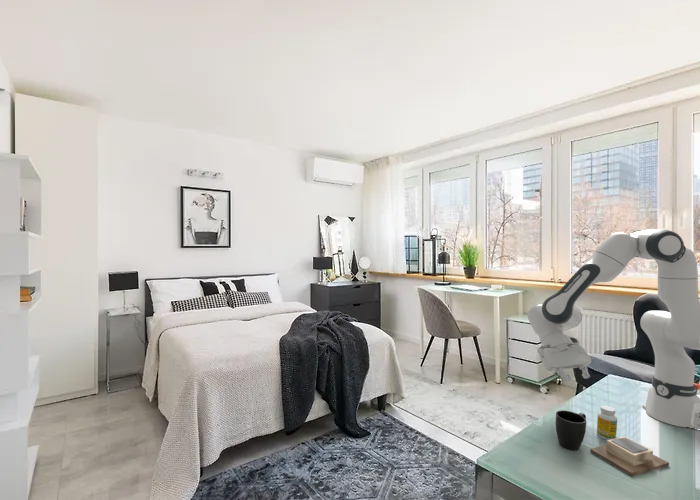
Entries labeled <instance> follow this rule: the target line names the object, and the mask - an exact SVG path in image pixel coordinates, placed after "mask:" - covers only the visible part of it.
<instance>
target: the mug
mask: <svg viewBox="0 0 700 500" xmlns="http://www.w3.org/2000/svg"><path fill="white" fill-rule="evenodd" d="M554 422H555V432H556V436H557V440H558V444H559V446H560V447H561V448H562V449H565V450H568V451H571V452H577V451H579V450H580V448H581V445H582V444H583V441H584V439H585V435H586V431H587V415H586V414H585V413H583V412H580V413H576V412H574V411H570V410H558V411H556V412H555V421H554Z"/></svg>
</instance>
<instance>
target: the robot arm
mask: <svg viewBox="0 0 700 500" xmlns="http://www.w3.org/2000/svg"><path fill="white" fill-rule="evenodd" d="M634 258H641V259H645V260H654V261H655V262H656V265H657V297H658V299H659V300H660V301H661V302H662V303H664V305H666V307H667V309H668V311H666V310H648V311H645V312H644V313H643V315H642V316H641V318H640V322H639V323H640V328H641V329H642V331H643V332H644V333H645V335H647V338H648V339H649V341H650V343H651V346H652V349H653V354H654V373H653V374H654V375H653V376H652V379H651V387H649V388H648V390H647V396H646V402H645V403H642V406H641V407H642V408H643V409H644V410H645V413H646V414H647V415H649V416H650V417H652V418H653V419H655V420H657V421H660V422H663V423H665V424H668V425H673V426H675V427H676V426H677V427H680V428H686V427H690V428H689V429H691V428H696V429H700V397H699V396H698V394H697V391H700V384H699V383H695V375H696V364H695V362H694V360H693V359H692V358H691V357H690V356H689V355H688V354H687V352H686V350H685V348H687V349H691V350H695V351H696V350H697V351H700V297H699V295H700V294H699V272H698V271H699V270H698V264H697V260H696V255H695V253H694V251H692V249H690V248H688V247H686V246H685V243H684V240H683V238H682V237H681V236H680V234H678V233H676V232H674V231H672V230H668V229H655V228H649V229H638V230H635V231H632V232H629V233H626V232H618V231H617V232H614V233H612V234H610V235H609V236H608V237H607V238H606V239H605V240H604V241H602V243H601V244H600V245H599V246H598V247H597V248H596V249H595V251H594V252H593V253H592V254H591V255H590V257H589V258H588V260H587V261H586V262H585V263H584V264H583V265H582V266H581V267H580V268H579V269H578V270H577V271H575V273H574V274H573V275H572V276H571V277H570V278H569V279H568V280H567V282H566V283H565V284H564V285H563V286H562V287H561V288H560V289H559V290H558V291H557V292H556V293H554V294H552V295H551V296H549V297H547V298H546V299H545V300H544V302H543V303H542V304H540V303H539V304H536V305H534V306H532V307H531V308H530V309H529V311H528V312H527V319H528V322H529V325H530V326H531V328H532V330H533V331H534V333H535V334H536V335H537V336H538V338H539V340H540V343H541V345H539V346H538V347H537V353H538V354H539V357H540V358H539V359H540V361H541V363H542V365H543V367H544V369H545V370H546V371H547V372H553V371H555V372H556V374H558V375H559V376H560V377H561V378H562V379H563V381H564V382H569V381H571V380H572V378H571V376H570V375H569V374H567V373H566V372H565V371H564V370H569V369H576V368H579V370H580V371H582V374H581V376H582V378H583V379H590V378H591V375H590V373H589V371H588V370H589V369H588V366H589V365H590V364H592V358H591V357H590V355H589V354H588V352H587V350H586V349H585V348H584V347H583V346H582V345H581V344H580V343H581V342H580V340H579V339H578V338H577V337H572V336H569V335H567V334H565V333H564V331H567V330H570V329H574V328H576V327H577V326H579V325H580V324H581V322H582V319H583V314H582V312H581V310H580V309H579V308H578V307H577V306H576V305H575V303H576V302H577V301H578V300H579V299H580V298H581V296H583V294H584V293H585V292H586V291H587V290H588V289H589V288H590V287H591V286H592V285H594V284H598V283H599V284H600V283H609V282H612V281H613V280H615V279H616V278H617V277H618V276H619V275H620V274H621V273H622V272H623V271H624V269H625V268H626V267H627V266H628V264H629V262H630V261H632V260H633V259H634Z"/></svg>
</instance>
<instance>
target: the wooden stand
mask: <svg viewBox="0 0 700 500" xmlns="http://www.w3.org/2000/svg"><path fill="white" fill-rule="evenodd" d="M589 451H590V453H591V454H593V455H595V456H596V457H598V458H600V459H601V460H602V461H604V462H607V463H608V464H610V465H612V466H614V467H615V468H617V469H618V470H620V471H621V472H623V473H625V474H627V475H628V476H630V477H635V476H638V475H643V474H646V473H650V472H652V471H656V470H660V469H662V468H666V467H669V466H670V462H668V461H667V460H665V459H663V458H661V457H659V456H657V455H656V454H654V450H653V449H651V448H649V447H646V446H645V445H643V444H640V443H639V442H637V441H635V440H633V439H631V438H630V437H627V436H625V435H624V436H620V437H616V438H615V439H610V440H607V439H606V444H604V445H600V446H596V447H592V448H590V450H589Z"/></svg>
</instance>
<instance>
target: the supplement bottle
mask: <svg viewBox="0 0 700 500" xmlns="http://www.w3.org/2000/svg"><path fill="white" fill-rule="evenodd" d="M617 428H618V417H617V415H616V409H615V408H613V407H612V406H609V405H601V406H600V411H599V412H598V413H597V423H596V435H597V436H598V437H600V438H602V439H604V440H606V441H607V440H610V439H615V438H617Z"/></svg>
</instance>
